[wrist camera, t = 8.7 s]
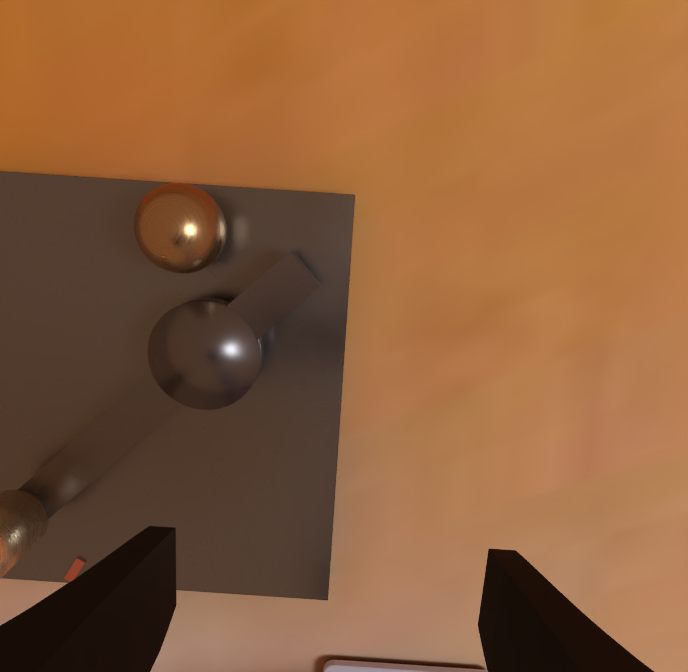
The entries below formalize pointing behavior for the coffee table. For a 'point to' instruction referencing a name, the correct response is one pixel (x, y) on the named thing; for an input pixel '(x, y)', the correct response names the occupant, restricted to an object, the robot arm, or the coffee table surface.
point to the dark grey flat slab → (132, 367)
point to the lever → (162, 393)
